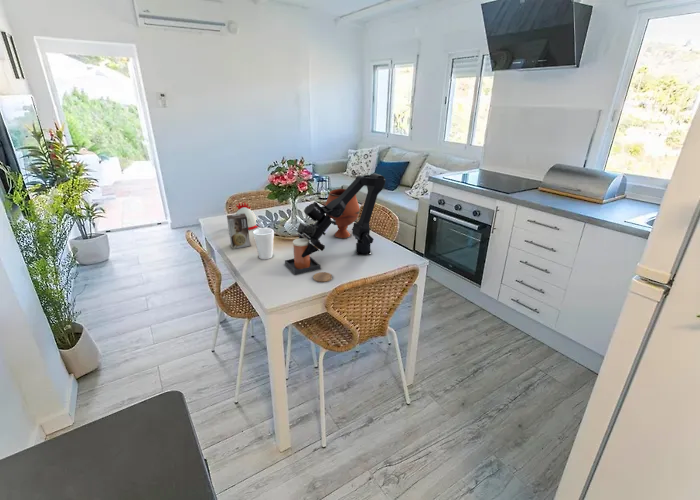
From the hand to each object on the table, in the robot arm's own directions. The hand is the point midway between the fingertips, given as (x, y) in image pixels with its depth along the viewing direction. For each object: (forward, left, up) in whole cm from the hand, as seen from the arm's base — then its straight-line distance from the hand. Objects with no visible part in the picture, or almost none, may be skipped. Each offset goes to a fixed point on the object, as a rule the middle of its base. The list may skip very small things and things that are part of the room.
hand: (298, 253), depth 156 cm
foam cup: (+17, -13, -7) cm, 22 cm away
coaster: (-10, +11, -7) cm, 16 cm away
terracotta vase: (-22, -39, -7) cm, 45 cm away
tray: (-1, -1, -7) cm, 7 cm away
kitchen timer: (+34, -57, -7) cm, 66 cm away
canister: (-1, -1, -6) cm, 6 cm away
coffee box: (+31, -27, -7) cm, 42 cm away
